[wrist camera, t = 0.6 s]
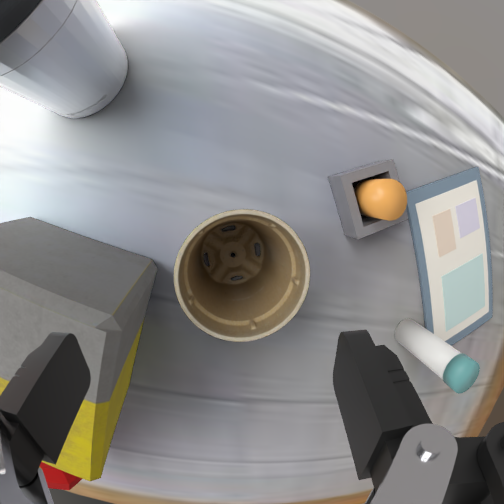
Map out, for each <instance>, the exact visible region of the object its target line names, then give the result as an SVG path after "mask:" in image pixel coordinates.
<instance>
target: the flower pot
mask: <svg viewBox="0 0 504 504" xmlns="http://www.w3.org/2000/svg"><path fill="white" fill-rule="evenodd" d="M232 225H234V226H235V230H229V231H225V232H222V229H224V228H225V227H228V226H232ZM256 243H258V244H259V245H260V255H259V256H257V255H256V252H255V246H254V244H256ZM204 253H207V254H208V260H209V264H210V265H209V266H206V264H205V262H204V258H203V256H204ZM231 253H234V254H235V257H231ZM236 276H242V279H238V280H231V278H233V277H236ZM309 281H310V265H309V260H308V256H307V252H306V250H305V247H304V245H303V243H302V242H301V240H300V238H299V237H298V235H297V234H296V233H295V232H294V230H293V229H291V227H290V226H289V225H287V224H286V223H285V222H283V221H282V220H280V219H279V218H277V217H275V216H273V215H271V214H268V213H265V212H262V211H258V210H249V209H239V210H231V211H226V212H223V213H220V214H217V215H215V216H213V217H211V218H209V219H207V220H205V221H204V222H203V223H201V224H200V225H199V226H197V227H196V228H195V229H194V230H193V231H192V232H191V233H190V234H189V236H188V237H187V238H186V240H185V241H184V243H183V245H182V246H181V248H180V250H179V253H178V255H177V258H176V262H175V267H174V286H175V292H176V295H177V298H178V301H179V303H180V305H181V308H182V309H183V311H184V312H185V314H186V315H187V317H188V318H189V319H190V320H191V321H192V322H193V323H194V324H195V325H196V326H197V327H198V328H200V329H201V330H202V331H204V332H206V333H207V334H209V335H211V336H213V337H216V338H218V339H222V340H227V341H233V342H247V341H253V340H257V339H260V338H263V337H266V336H268V335H270V334H272V333H274V332H276V331H278V330H279V329H281V328H282V327H283V326H285V325H286V324H287V323H288V322H289V321H290V320H291V319H292V318H293V317H294V316H295V315H296V313H297V312H298V310H299V309H300V307H301V305H302V304H303V302H304V299H305V297H306V294H307V291H308V287H309Z"/></svg>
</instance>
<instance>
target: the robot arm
mask: <svg viewBox="0 0 504 504" xmlns="http://www.w3.org/2000/svg"><path fill="white" fill-rule="evenodd" d="M127 70H128V58H127V55H126V52H125V50H124V48H123V46H122V45H121V43H120V41H119V39H118V38H117V36H116V34H115V32H114V30H113V29H112V27H111V25H110V23H109V22H108V20H107V18H106V16H105V15H104V13H103V11H102V9H101V8H100V6H99V4H98V3H97V1H96V0H0V87H2V88H4V89H6V90H8V91H11V92H13V93H15V94H17V95H19V96H21V97H23V98H26V99H28V100H30V101H32V102H34V103H36V104H38V105H40V106H42V107H44V108H46V109H48V110H51V111H53V112H55V113H57V114H59V115H61V116H64V117H67V118H81V117H86V116H89V115H92V114H94V113H96V112H98V111H99V110H101V109H103V108H104V107H105V106H106V105H108V104H109V103H110V102H111V101H112V100H113V99H114V97H115V96H116V95H117V94H118V92H119V91H120V89H121V88H122V86H123V84H124V81H125V79H126V76H127ZM90 382H91V375H90V370H89V367H88V365H87V363H86V360H85V358H84V356H83V353H82V351H81V348H80V346H79V343H78V340H77V338H76V336H75V335H74V334H72V333H60V332H51V333H50V334H49V335H48V336H47V338H46V339H45V340H44V342H43V343H42V344H41V346H39V347H38V348H36V349H35V350H34V351H32V352H31V353H30V354H29V355H28V356H27V357H26V359H25V360H24V361H23V363H22V364H21V368H19V369H18V370H17V371H16V373H15V377H14V376H13V377H12V379H11V380H10V382H9V383H8V385H7V386H6V388H5V389H4V391H3V392H2V394H1V395H0V504H54V503H53V500H52V498H51V495H50V492H49V489H48V485H47V482H46V479H45V476H44V473H43V470H42V469H41V467H40V464H41V462H42V461H45V462H49V463H52V464H55V465H56V463H57V460H58V458H59V455H60V453H61V450H62V448H63V445H64V443H65V441H66V438H67V436H68V434H69V431H70V429H71V427H72V424H73V422H74V420H75V418H76V415H77V413H78V411H79V409H80V407H81V404H82V402H83V400H84V398H85V396H86V394H87V392H88V389H89V387H90ZM333 385H334V390H335V394H336V397H337V401H338V405H339V408H340V412H341V415H342V419H343V422H344V426H345V430H346V433H347V437H348V441H349V444H350V448H351V452H352V456H353V460H354V463H355V467H356V471H357V475H358V479H359V480H361V479H366V478H372V482H373V485H374V488H373V490H372V491H371V493H370V495H369V497H368V499H367V501H366V502H365V504H504V422H502V423H499V424H497V425H495V426H494V427H493V428H492V429H491V430H490V431H489V433H488V434H487V436H486V437H465V438H459V437H454V436H453V435H452V433H451V432H450V431H448V430H447V429H446V428H444V427H442V426H439V425H436V424H433V423H432V422H431V420H430V418H429V416H428V414H427V412H426V410H425V408H424V406H423V404H422V402H421V400H420V398H419V396H418V394H417V393H416V391H415V389H414V387H413V385H412V383H411V382H409V377H408V375H407V374H406V372H405V371H404V368H403V366H402V364H401V362H400V361H399V359H398V357H397V355H396V354H394V353H393V352H392V351H391V350H390V349H388V348H387V347H386V346H385V345H380V346H375V344H374V342H373V340H372V338H371V336H370V334H369V333H368V331H367V330H358V331H348V332H341V333H340V335H339V339H338V345H337V352H336V358H335V364H334V370H333Z"/></svg>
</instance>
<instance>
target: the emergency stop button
mask: <svg viewBox="0 0 504 504" xmlns="http://www.w3.org/2000/svg"><path fill="white" fill-rule="evenodd" d="M156 273H157V267H156V265H155V263H154V261H153V260H152V259H149V258H146V257H143V256H140V255H137V254H134V253H131V252H128V251H125V250H122V249H119V248H116V247H113V246H110V245H108V244H105V243H102V242H99V241H96V240H93V239H90V238H87V237H85V236H82V235H79V234H76V233H73V232H70V231H68V230H65V229H62V228H59V227H56V226H54V225H51V224H48V223H45V222H43V221H40V220H37V219H35V218H32V217H28V218H23V219H18V220H13V221H9V222H4V223H0V395H1V394H2V392H3V391H4V389H5V388H6V386H7V385H8V383H9V382H10V380H11V379H12V377H13V376H14V377H15V373H16V371H17V370H18V369H19V368H21V364H22V363H23V361H24V360H25V359H26V357H27V356H28V355H29V354H30V353H31V352H32V351H34V350H35V349H36V348H38V347H39V346H41V344H42V343H43V342H44V340H45V339H46V338H47V336H48V335H49V334H50V333H51V332H60V333H72V334H74V335H75V336H76V338H77V340H78V343H79V346H80V348H81V351H82V353H83V356H84V358H85V360H86V363H87V365H88V367H89V370H90V375H91V382H90V387H89V389H88V392H87V394H86V396H85V398H84V400H83V402H82V404H81V407H80V409H79V411H78V413H77V415H76V418H75V420H74V422H73V424H72V427H71V429H70V431H69V434H68V436H67V438H66V441H65V443H64V445H63V448H62V450H61V453H60V455H59V458H58V460H57V463H56V465H55V464H52V463H49V462H45V461H42V462H41V464H40V467H41V469H42V470H43V473H44V476H45V479H46V482H47V485H48V488H53V489H63V490H70V489H71V488H72V487H74V486H75V485H76V484H77V483H78V482H79V481H80V480H82V479H85V480H88V481H92V480H96V479H99V478H101V475H102V471H103V468H104V464H105V461H106V457H107V454H108V450H109V447H110V444H111V440H112V437H113V434H114V430H115V427H116V424H117V421H118V418H119V415H120V411H121V408H122V405H123V402H124V399H125V396H126V393H127V390H128V387H129V384H130V379H131V374H132V369H133V365H134V360H135V356H136V351H137V347H138V343H139V338H140V334H141V330H142V326H143V322H144V318H145V314H146V310H147V306H148V302H149V298H150V295H151V291H152V287H153V284H154V280H155V276H156Z"/></svg>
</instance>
